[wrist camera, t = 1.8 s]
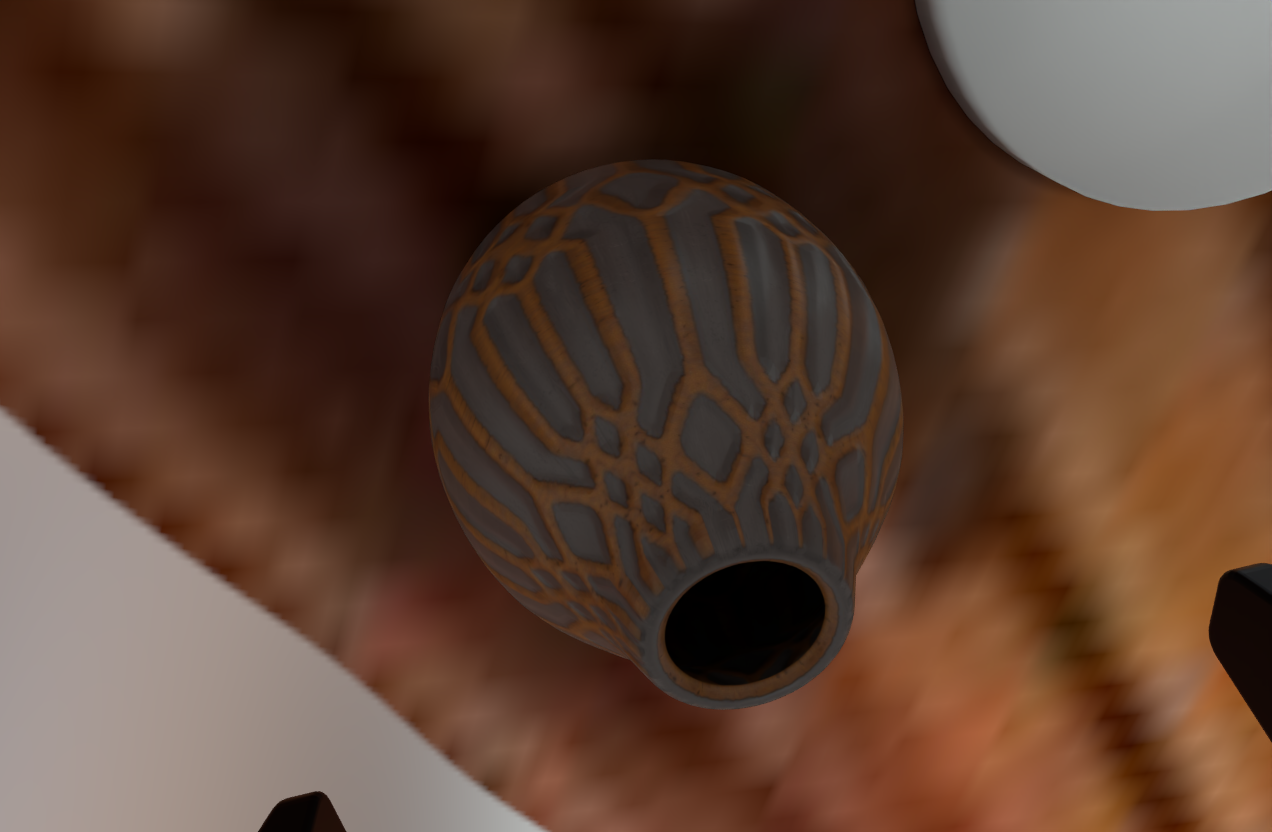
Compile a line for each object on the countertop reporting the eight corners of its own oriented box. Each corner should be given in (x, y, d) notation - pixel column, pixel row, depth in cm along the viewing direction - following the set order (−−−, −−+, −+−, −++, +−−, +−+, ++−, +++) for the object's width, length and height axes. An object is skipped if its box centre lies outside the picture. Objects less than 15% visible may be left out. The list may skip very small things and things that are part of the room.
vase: (493, 57, 15) (533, 251, 8) (864, 184, 17) (1180, 433, 10) (393, 421, 18) (351, 818, 11) (720, 491, 20) (878, 864, 13)
